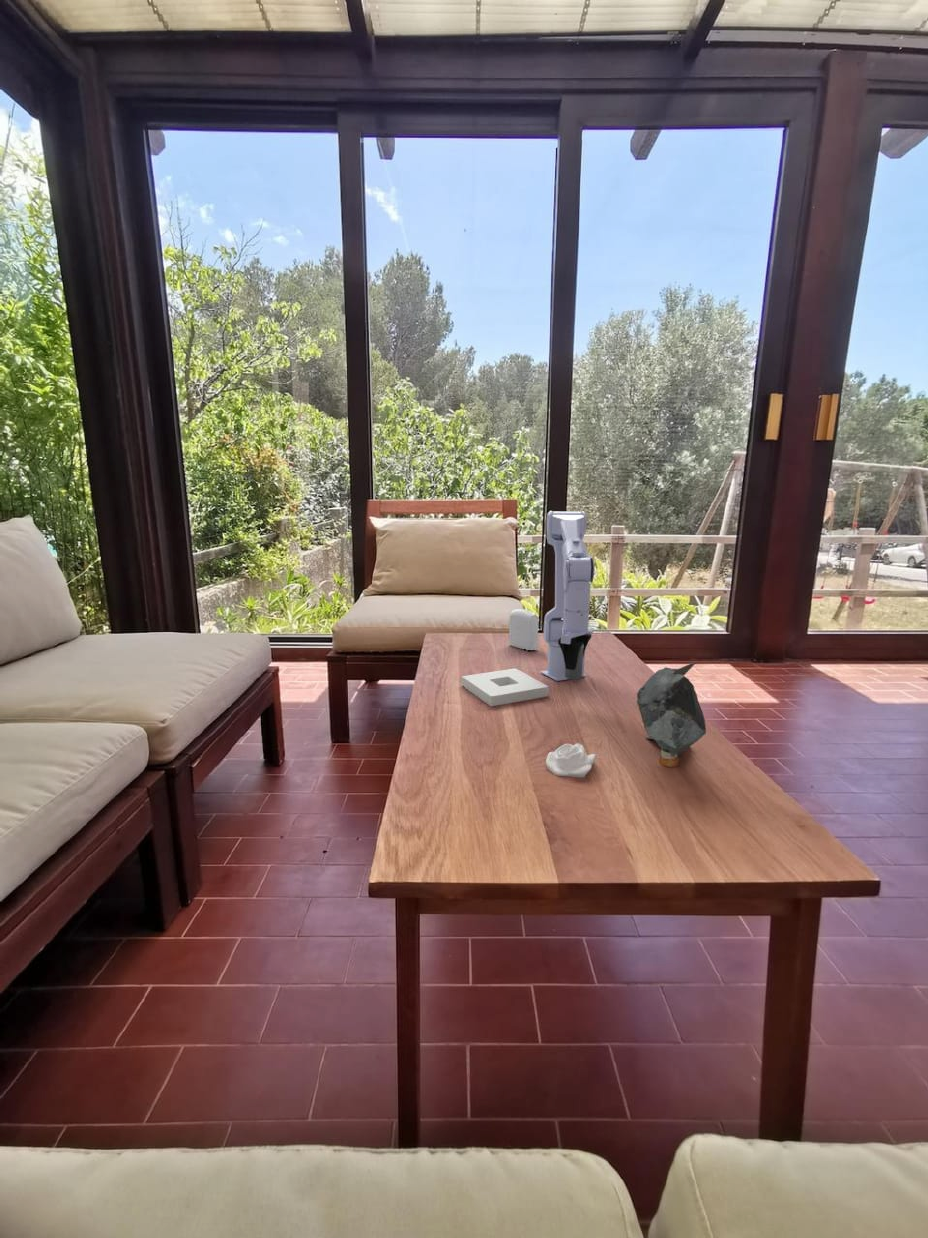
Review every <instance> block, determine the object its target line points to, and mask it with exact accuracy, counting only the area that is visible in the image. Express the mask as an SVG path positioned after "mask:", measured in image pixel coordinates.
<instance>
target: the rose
mask: <svg viewBox="0 0 928 1238" xmlns="http://www.w3.org/2000/svg"><path fill="white" fill-rule="evenodd" d="M596 758H597V754H595V753H591V754H589V755H587V751H586V749H585V747H584V745H582V744H581V743H575V744H574V745H573V744H571V743H563V745H560V746H559V747H558V748H556V749H555V750H554V751H549V753H548V754H547V756H546V760H545V765H546V768H547V769H548V770H549V772H550V773H552V774H554V775H555V776H556V777H557V776H558V777H571V778H573V777H574V778H585V777H586V775H587V774H588V773H589V772H590V771H591V769H592V766H593V764H594V763H595V760H596Z"/></svg>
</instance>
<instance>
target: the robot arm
mask: <svg viewBox="0 0 928 1238" xmlns="http://www.w3.org/2000/svg"><path fill="white" fill-rule="evenodd" d="M587 518H588V517H587V513H586V512H585V510H584V511H583V510H581V511H557V510H556V511H553V510H549V512H547V515H546V540H547V541H546V542H547V544H548V545H550V546H552V547H553V550H554V556H555V557H554V558H555V559H554V561H555V563H554V564H555V565H554V567H555V568H554V569H555V570H554V571H555V572H554V607H553V608H551V609H550V610H549V611H547V612H546V614H545V615H544V620H543V621H544V622H543V640H544V641H545V643H548V650H547V654H548V655H547V669H546V670H540V674H542V675H545V677H548V678H550V679H552V680H554V681H556V682H560V681H566V680H570V679H569V678H566V677H565V667H566V669H570V670H575V668H576V665H577V660H578V655H579V652H580V649H581V647H582V645H583V644H584V648H583V665H582V678H584V677H586V674H585V657H586V655H585V654H586V653H585V652H586V649H587V647H588V645H589V642H590V640H591V638H592V637H593V636H592V634H593V633H594V629H591V628H589V627H590V626H589V624H590V623H589V622H590V620H589V619H590V618H589V617H590V599H591V586H592V585H591V584H592V583H593V581H594V578H595V572H596V571H595V561H594V558H593V556H591V555H589V554H588V553H589V552H588V549H587V545H586V543H585V541H584V537H585V534H586V532H587V526H588V524H587V523H588V522H587V521H588V520H587Z"/></svg>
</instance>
